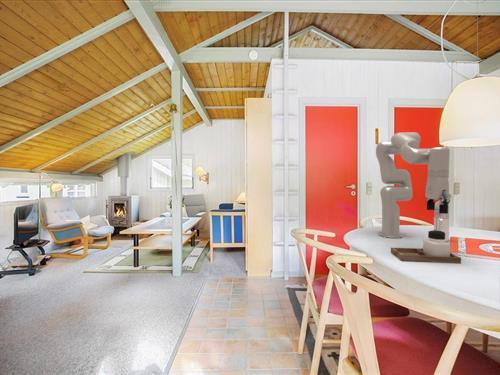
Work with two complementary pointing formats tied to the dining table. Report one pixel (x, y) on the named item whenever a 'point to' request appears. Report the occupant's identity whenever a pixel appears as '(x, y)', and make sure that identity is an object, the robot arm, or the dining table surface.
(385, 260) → the dining table surface
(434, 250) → the medicine bottle
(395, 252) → the tray
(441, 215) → the water bottle
